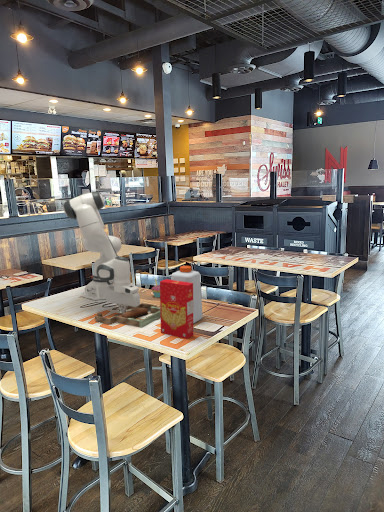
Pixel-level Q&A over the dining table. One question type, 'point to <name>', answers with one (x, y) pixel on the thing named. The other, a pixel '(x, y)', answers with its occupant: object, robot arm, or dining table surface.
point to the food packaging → (176, 308)
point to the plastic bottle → (193, 277)
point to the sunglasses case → (134, 313)
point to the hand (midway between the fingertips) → (123, 312)
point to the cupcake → (156, 290)
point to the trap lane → (129, 320)
